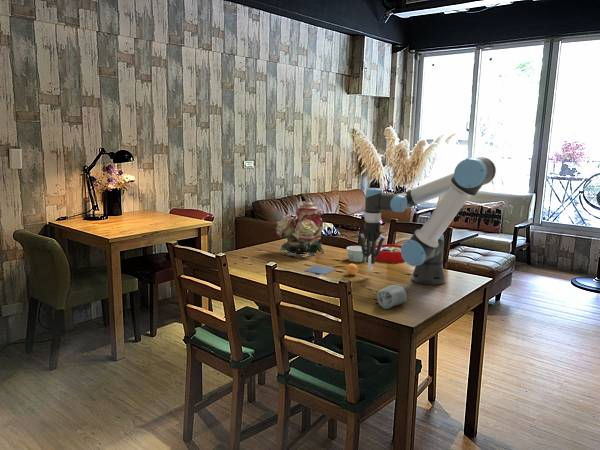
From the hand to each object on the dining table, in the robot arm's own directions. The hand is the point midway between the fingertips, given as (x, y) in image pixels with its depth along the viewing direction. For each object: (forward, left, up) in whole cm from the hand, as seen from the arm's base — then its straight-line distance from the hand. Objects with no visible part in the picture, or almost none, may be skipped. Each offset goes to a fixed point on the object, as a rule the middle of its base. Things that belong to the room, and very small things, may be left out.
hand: (370, 269), depth 243 cm
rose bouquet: (+51, -29, -4) cm, 59 cm away
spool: (-22, +35, -4) cm, 42 cm away
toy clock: (+4, -43, -4) cm, 44 cm away
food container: (+18, -30, -4) cm, 35 cm away
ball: (+9, 0, -1) cm, 9 cm away
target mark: (+26, 0, -4) cm, 26 cm away
